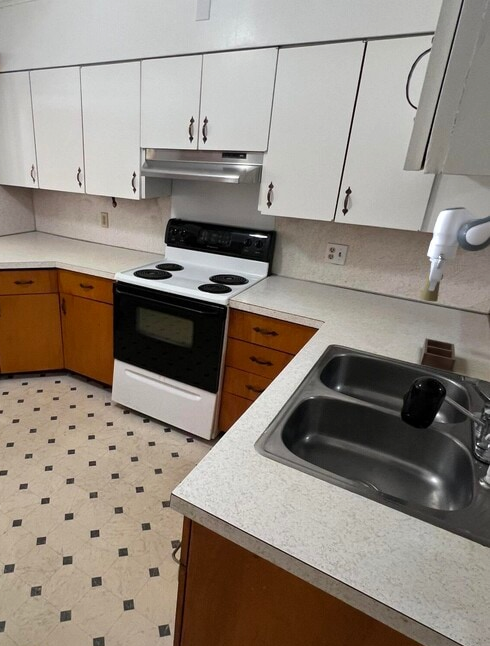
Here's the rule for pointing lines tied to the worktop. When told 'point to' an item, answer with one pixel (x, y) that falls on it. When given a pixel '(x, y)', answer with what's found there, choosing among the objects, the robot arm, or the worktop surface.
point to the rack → (438, 355)
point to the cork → (428, 294)
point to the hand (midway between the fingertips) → (431, 288)
